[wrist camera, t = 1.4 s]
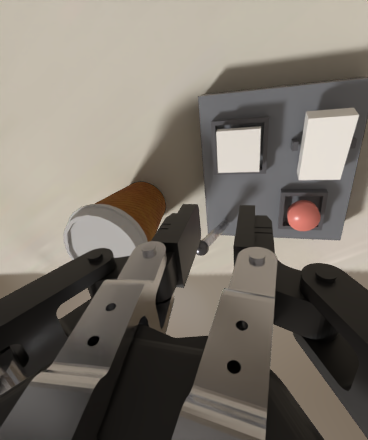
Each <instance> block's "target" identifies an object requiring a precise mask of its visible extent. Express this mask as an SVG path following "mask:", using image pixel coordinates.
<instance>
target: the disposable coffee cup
mask: <svg viewBox="0 0 368 440" xmlns="http://www.w3.org/2000/svg"><path fill="white" fill-rule="evenodd" d="M165 207H166V204H165V199H164V197H163V195H162V193H161V192H160V191H159V190H158V189H157V188H156V187H155V186H153V185H151V184H149V183H146V182H136V183H133V184H131V185H129V186H127V187H125V188H123V189H122V190H120V191H118V192H116V193H114V194H112V195H110V196H108V197H106V198H105V199H103V200H101V201H99V202H97V203H95V204H91V205H86V206H83V207H80V208H79V209H77V210H76V211H75V212H73V214H72V215H71V216H70V218H69V221H68V223H67V225H66V228H65V230H64V244H65V248H66V250H67V253H68V254H69V256H70V258H71V259H72V260H74V259H76V258H77V257H79V256H81V255H83V254H85V253H87V252H89V251H91V250H94V249H98V248H107V249H110V250H111V251H112V252H113V255H114V258H118V257H125V256H130V255H131V253H132V251H133V250H134V248H135V247H137V246H138V245H140V244H142V243H145V242H150V241H151V240H152V238H153V237H154V235H155V234H156V231H157V229H158V226H159V224H160V221H161V219H162V217H163V214H164V212H165Z"/></svg>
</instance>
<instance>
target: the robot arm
mask: <svg viewBox="0 0 368 440" xmlns="http://www.w3.org/2000/svg"><path fill="white" fill-rule="evenodd" d="M200 239H201V228H200V217H199V207H198V205H197V204H183V205H182V206H181V208H180V210H179V211H178V213H173V214H171V215H170V216H168V217H167V218H165V220H164V222H163V223H162V225H161V226H160V228H159V229H158V231H157V232H156V234H155V235H154V237H153V238H152V240H151V241H150V242H145V243H142V244H140V245H138V246H137V247H135V248H134V250H133V251H132V253H131V255H130V256H125V257H118V258H114V255H113V252H112V251H111V250H110V249H107V248H98V249H94V250H91V251H89V252H87V253H85V254H83V255H81V256H79V257H77V258H76V259H74V260H72V261H70V262H68V263H66V264H64V265H63V266H61V267H59V268H57V269H55V270H53V271H51V272H50V273H48V274H46V275H44V276H42V277H40V278H39V279H37V280H35V281H33V282H31V283H29V284H27V285H25V286H24V287H22V288H20V289H18V290H16V291H14V292H13V293H11V294H9V295H7V296H5V297H3V298H1V299H0V440H324V439H323V437H322V436H321V435H320V433H319V432H318V430H317V429H316V428H315V426H314V425H313V423H312V422H311V421H310V419H309V418H308V417H307V415H306V414H305V413H304V411H303V410H302V408H301V407H300V405H299V404H298V403H297V401H296V400H295V399H294V397H293V396H292V394H291V393H290V392H289V390H288V389H287V388H286V386H285V385H284V384H283V382H282V381H281V380H280V379H279V378H278V377H277V375H276V374H275V373H274V372H273V371H272V370H271V369H270V362H271V348H272V333H273V324H274V325H277V326H279V327H282V328H284V329H287V330H289V331H292V332H293V335H294V337H295V339H296V341H297V342H298V343H299V345H300V346H301V348H302V349H303V350H304V351H305V353H306V354H307V356H308V357H309V359H310V360H311V361H312V363H313V364H314V366H315V367H316V368H317V370H318V371H319V372H320V374H321V375H322V377H323V378H324V379H325V381H326V382H327V383H328V385H329V386H330V387H331V389H332V390H333V392H334V393H335V395H336V396H337V397H338V398H339V400H340V401H341V403H342V404H343V405H344V407H345V408H346V410H347V411H348V412H349V414H350V415H351V417H352V418H353V419H354V421H355V422H356V423H357V425H358V426H359V428H360V429H361V430H362V432H363V433H364V434H365V436H366V437H367V439H368V290H367V289H366V288H364V287H363V286H362V285H361V284H359V283H358V282H357V281H355V280H354V279H353V278H351V277H350V276H349V275H348V274H347V273H345V272H344V271H342V270H341V269H339V268H337V267H335V266H332V265H329V264H323V263H314V264H309V265H307V266H305V267H304V268H303V269H302V271H300V270H296V269H293V268H290V267H288V266H285V265H284V264H282V263H281V262H280V261H278V259H277V256H276V255H275V251H274V240H273V229H272V221H271V220H270V219H269V217H268V216H267V215H255V205H240V207H239V214H238V220H237V227H236V234H235V240H234V270H233V273H232V277H231V280H230V284H229V287H228V289H227V288H224V289H223V291H222V294H221V297H220V300H219V304H218V307H217V310H216V313H215V317H214V320H213V323H212V326H211V329H210V333H209V336H198V337H185V338H173V337H170V336H168V335H166V331H167V327H168V323H169V319H170V315H171V311H172V307H173V303H174V290H175V288H176V287H181V288H184V286H185V283H186V280H187V278H188V275H189V272H190V269H191V266H192V264H193V261H194V258H195V255H196V252H197V250H198V247H199V244H200ZM86 288H88V290H89V293H90V296H91V299H90V300H88V301H87V302H85V303H84V304H82V305H81V306H79V307H78V308H76V309H75V310H73V311H72V312H70V313H69V314H67V315H66V316H64V317H63V318H61V319H58V318H57V316H56V312H57V309H58V308H59V306H60V305H61V304H62V303H64V302H65V301H67V300H69V299H70V298H72V297H73V296H75V295H76V294H78V293H80V292H81V291H83V290H84V289H86Z"/></svg>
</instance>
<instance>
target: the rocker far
mask: <svg viewBox="0 0 368 440" xmlns="http://www.w3.org/2000/svg"><path fill="white" fill-rule="evenodd" d="M358 117H359V114H358V113H357V111H356V110H355V108H342V109H329V110H317V111H306V115H305V122H304V128H303V135H302V141H301V148H300V154H299V161H298V167H297V175H298V180H340V179H341V175H342V172H343V169H344V165H345V162H346V158H347V155H348V152H349V148H350V145H351V141H352V138H353V135H354V131H355V128H356V124H357V121H358Z"/></svg>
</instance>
